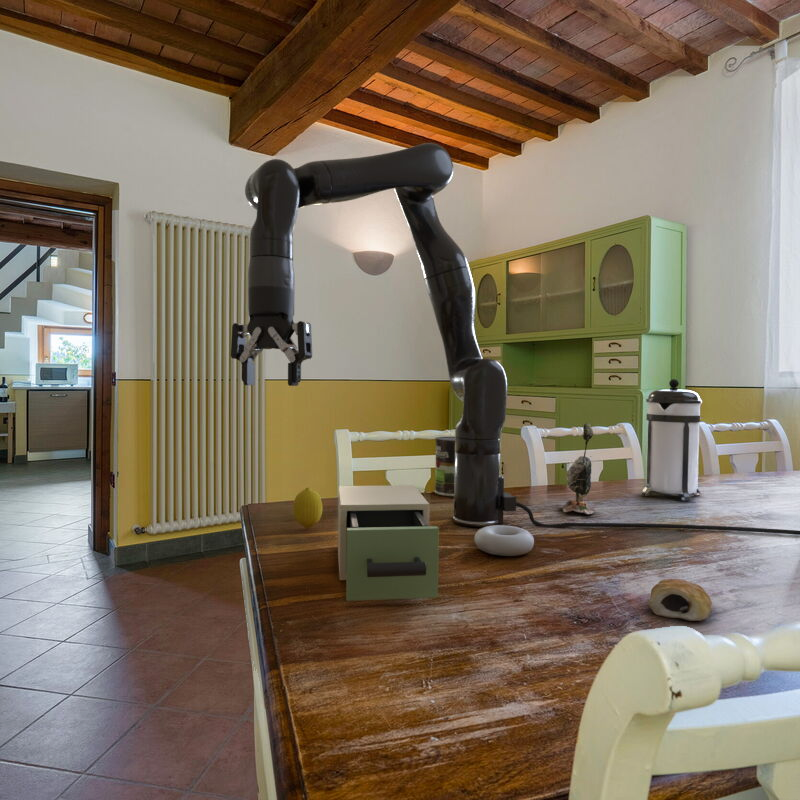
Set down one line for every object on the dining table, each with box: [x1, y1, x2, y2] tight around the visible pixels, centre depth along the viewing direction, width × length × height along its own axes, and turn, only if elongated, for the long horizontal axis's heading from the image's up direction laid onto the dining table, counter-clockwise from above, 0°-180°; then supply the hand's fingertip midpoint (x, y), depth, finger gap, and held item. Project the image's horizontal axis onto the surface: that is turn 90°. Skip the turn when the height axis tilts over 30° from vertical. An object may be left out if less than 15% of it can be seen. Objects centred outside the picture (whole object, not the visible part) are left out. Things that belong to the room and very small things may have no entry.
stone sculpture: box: [558, 422, 596, 515], centre depth 127 cm, size 8×11×20 cm
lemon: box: [292, 487, 323, 530], centre depth 108 cm, size 6×6×8 cm
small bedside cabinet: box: [337, 484, 430, 581], centre depth 89 cm, size 15×13×11 cm
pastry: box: [647, 578, 713, 622], centre depth 72 cm, size 9×7×4 cm
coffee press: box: [641, 378, 703, 503], centre depth 146 cm, size 17×16×30 cm
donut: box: [473, 524, 535, 557], centre depth 96 cm, size 10×4×10 cm
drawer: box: [345, 510, 440, 602], centre depth 76 cm, size 18×12×9 cm, turn 7°
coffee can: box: [434, 436, 455, 498], centre depth 146 cm, size 10×10×14 cm
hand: (270, 385), depth 95 cm, fingers open, 8 cm apart
